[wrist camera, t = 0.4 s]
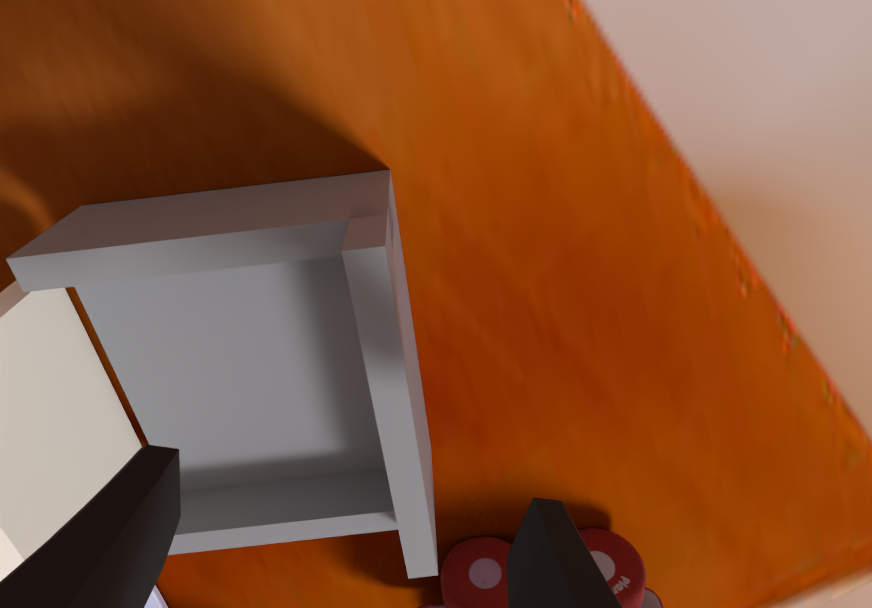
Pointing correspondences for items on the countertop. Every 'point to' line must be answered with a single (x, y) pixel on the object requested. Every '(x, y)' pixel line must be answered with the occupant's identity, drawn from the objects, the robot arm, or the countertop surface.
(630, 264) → the countertop surface
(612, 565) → the toy fire truck
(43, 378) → the panel
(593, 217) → the countertop surface
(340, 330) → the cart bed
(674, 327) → the countertop surface
